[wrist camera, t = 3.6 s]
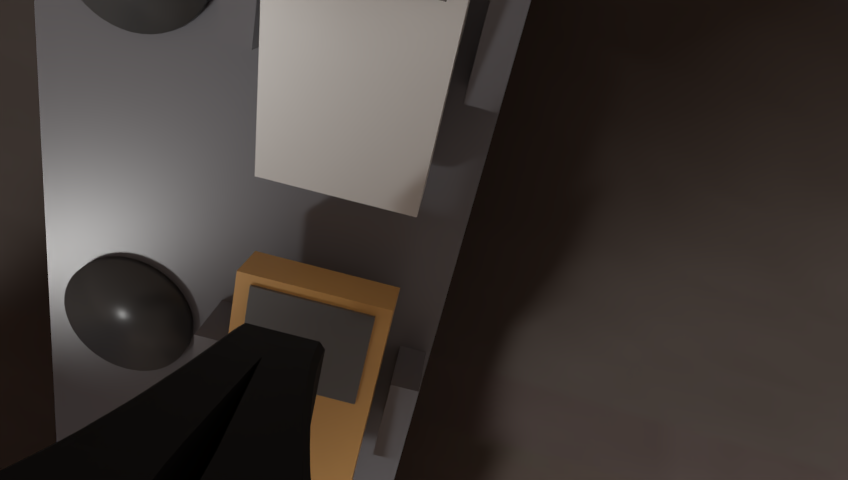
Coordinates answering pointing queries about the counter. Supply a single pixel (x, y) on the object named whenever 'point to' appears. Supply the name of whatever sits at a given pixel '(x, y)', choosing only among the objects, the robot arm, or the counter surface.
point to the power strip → (224, 199)
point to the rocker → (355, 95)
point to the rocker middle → (324, 344)
